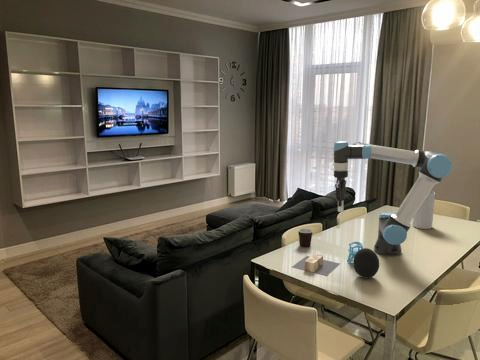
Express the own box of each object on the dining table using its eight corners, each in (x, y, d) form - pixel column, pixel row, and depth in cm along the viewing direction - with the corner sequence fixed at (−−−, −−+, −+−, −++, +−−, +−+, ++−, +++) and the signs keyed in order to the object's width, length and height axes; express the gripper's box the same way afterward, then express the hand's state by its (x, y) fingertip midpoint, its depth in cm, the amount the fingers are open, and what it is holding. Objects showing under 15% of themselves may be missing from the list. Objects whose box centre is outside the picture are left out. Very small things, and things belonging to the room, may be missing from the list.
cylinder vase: (433, 225, 276) (436, 191, 271) (430, 230, 266) (434, 195, 261) (414, 223, 283) (416, 189, 278) (411, 227, 272) (413, 192, 268)
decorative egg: (382, 282, 190) (384, 253, 187) (358, 283, 189) (359, 254, 186) (372, 271, 202) (373, 244, 200) (349, 272, 201) (350, 245, 199)
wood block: (323, 255, 209) (313, 263, 200) (322, 264, 210) (313, 272, 200) (314, 253, 212) (304, 261, 202) (314, 262, 213) (304, 270, 203)
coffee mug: (308, 249, 233) (309, 234, 231) (295, 247, 237) (296, 231, 235) (316, 244, 242) (316, 228, 241) (303, 241, 247) (303, 226, 245)
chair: (345, 260, 217) (346, 240, 214) (360, 260, 216) (361, 240, 214) (349, 266, 209) (349, 245, 207) (364, 266, 209) (365, 245, 207)
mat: (340, 264, 211) (340, 263, 211) (326, 277, 196) (326, 276, 196) (306, 256, 223) (306, 255, 222) (291, 268, 207) (291, 267, 207)
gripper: (337, 167, 221) (337, 208, 225) (330, 171, 210) (330, 213, 214) (351, 168, 217) (350, 209, 221) (343, 172, 206) (343, 215, 210)
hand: (340, 211), depth 218 cm, fingers closed
